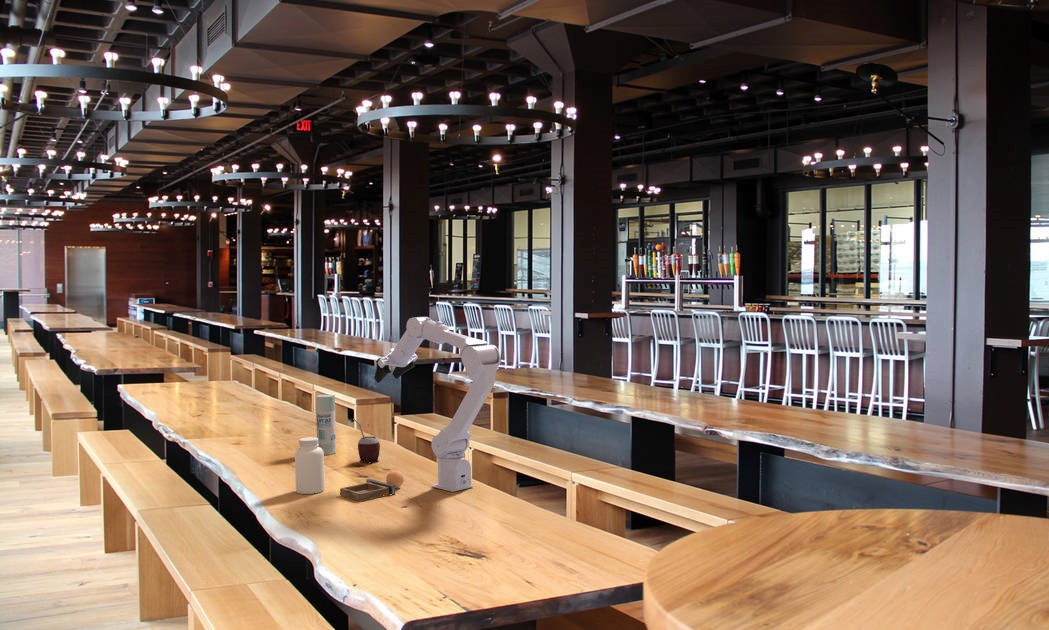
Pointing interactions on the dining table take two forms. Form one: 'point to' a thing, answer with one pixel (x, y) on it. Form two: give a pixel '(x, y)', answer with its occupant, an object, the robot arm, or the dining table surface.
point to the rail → (390, 486)
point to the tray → (364, 491)
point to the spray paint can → (326, 423)
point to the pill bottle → (309, 466)
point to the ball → (395, 478)
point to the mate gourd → (368, 447)
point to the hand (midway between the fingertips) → (385, 378)
